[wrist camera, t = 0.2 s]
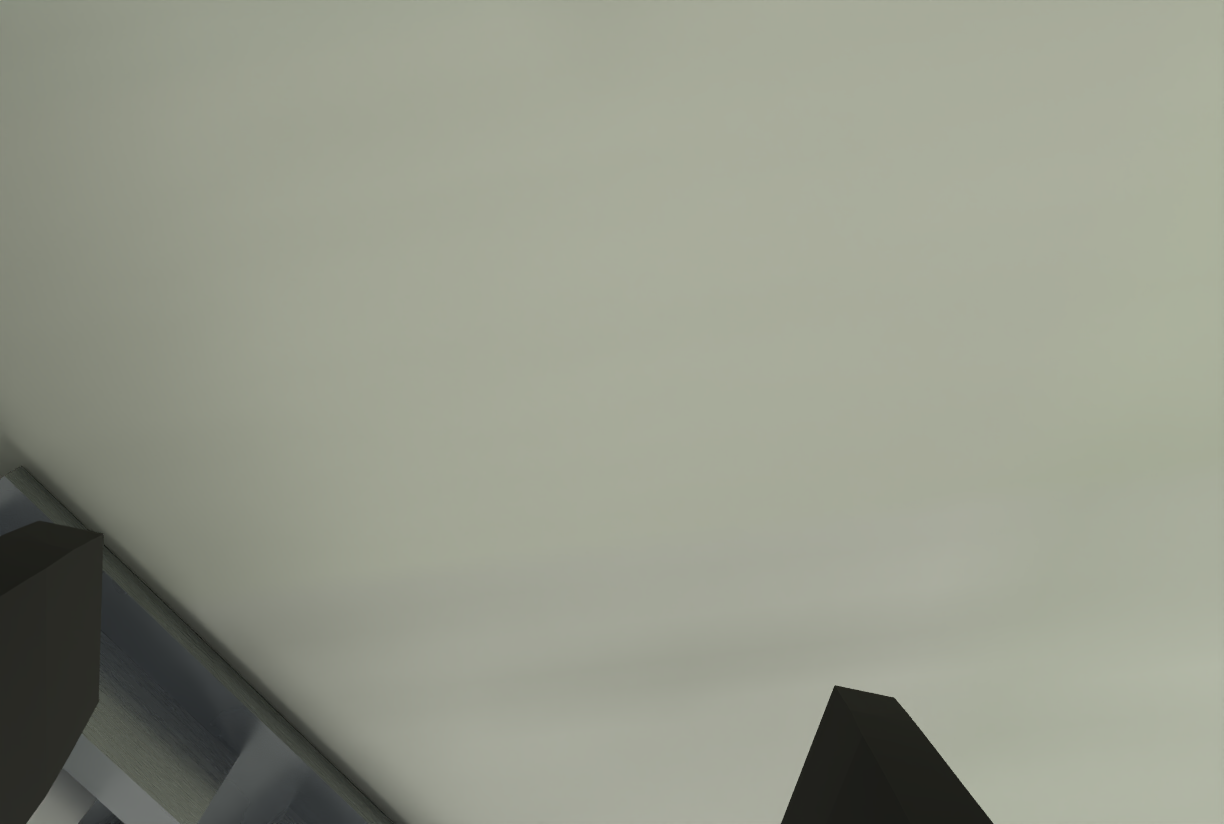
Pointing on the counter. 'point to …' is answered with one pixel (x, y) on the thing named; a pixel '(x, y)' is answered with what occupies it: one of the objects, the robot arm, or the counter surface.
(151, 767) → the panel
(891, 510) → the counter surface
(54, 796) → the plug
